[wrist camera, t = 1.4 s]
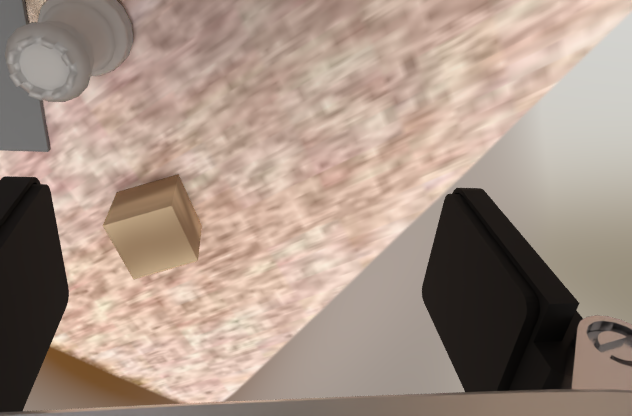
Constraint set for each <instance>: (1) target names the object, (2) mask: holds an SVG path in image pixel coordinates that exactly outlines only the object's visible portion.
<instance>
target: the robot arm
mask: <svg viewBox="0 0 632 416" xmlns="http://www.w3.org/2000/svg"><path fill="white" fill-rule="evenodd" d="M68 297H69V290H68V283H67V278H66V272H65V267H64V262H63V256H62V251H61V245H60V240H59V235H58V229H57V224H56V218H55V213H54V208H53V202H52V197H51V192H50V188H49V186H48V185H45V184H40V182H39V180H38V179H37V178H36V177H3V178H2V179H1V180H0V416H632V324H630V323H627V322H625V321H623V320H620V319H616V318H613V317H609V316H600V315H595V316H589V317H586V318H584V319H583V318H582V317H581V316H580V314H579V313H578V312H577V311H576V309H577V307H578V305H579V303H578V301H577V300H576V299H575V298H574V296H573V295H572V294H571V293H570V292H569V290H568V289H567V288H566V287H565V286H564V285H563V283H562V282H561V281H560V280H559V279H558V278H557V276H556V275H555V274H554V273H553V272H552V270H551V269H550V268H549V267H548V266H547V264H546V263H545V262H544V261H543V260H542V259H541V257H540V256H539V255H538V254H537V253H536V251H535V250H534V249H533V248H532V247H531V246H530V244H529V243H528V242H527V241H526V240H525V238H524V237H523V236H522V235H521V234H520V232H519V231H518V230H517V229H516V228H515V227H514V226H513V224H512V223H511V222H510V221H509V219H508V218H507V217H506V216H505V215H504V214H503V212H502V211H501V210H500V209H499V208H498V206H497V205H496V204H495V203H494V202H493V201H492V199H491V198H490V197H489V196H488V195H487V193H486V192H485V191H484V190H483V189H478V188H456V189H455V190H454V192H453V193H452V194H448V195H447V196H446V197H445V200H444V203H443V208H442V211H441V215H440V220H439V223H438V227H437V231H436V235H435V239H434V243H433V247H432V250H431V254H430V258H429V262H428V266H427V270H426V274H425V278H424V282H423V286H422V297H423V301H424V303H425V306H426V308H427V310H428V312H429V314H430V316H431V319H432V321H433V323H434V325H435V327H436V329H437V332H438V334H439V336H440V338H441V340H442V342H443V345H444V347H445V349H446V351H447V353H448V355H449V358H450V360H451V362H452V364H453V366H454V368H455V371H456V373H457V375H458V377H459V379H460V381H461V384H462V386H463V388H464V390H465V392H461V393H460V392H459V393H431V394H405V395H376V396H352V397H326V398H302V399H278V400H256V401H232V402H208V403H187V404H167V405H146V406H125V407H103V408H83V409H61V410H40V411H23V408H24V406H25V404H26V401H27V399H28V396H29V394H30V392H31V389H32V387H33V385H34V382H35V380H36V377H37V375H38V373H39V370H40V368H41V366H42V363H43V361H44V359H45V356H46V354H47V351H48V349H49V347H50V344H51V342H52V340H53V337H54V335H55V332H56V330H57V328H58V325H59V323H60V321H61V318H62V316H63V314H64V311H65V309H66V306H67V303H68Z"/></svg>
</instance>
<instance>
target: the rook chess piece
mask: <svg viewBox="0 0 632 416" xmlns="http://www.w3.org/2000/svg"><path fill="white" fill-rule="evenodd" d="M132 43H133V32H132V24H131V21H130V19H129V17H128V15H127V14H126V12H125V10H124V8H123V6H122V5H121V4H120V3H119V2H118V1H117V0H47V1H46V2H45V3H44V4H43V5H42V7H41V9H40V14H39V18H38V22H31V23H29V24H26V25H24V26H21V27H19V28H17V29H16V30H15V32H14V33H13V34H12V35H11V36H10V37H9V39H8V40H7V45H6V50H5V58H6V63H7V66H8V71H9V72H10V74H11V75H9V77H10V78H11V80H12V81H13V82H14V84H15V85H16V87H18V86H20V87H22V88H23V89H24V90H25V91H27V92H28V93H29V95H28V96H30V97H33V98H35V99H38V100H42V99H43V100H45V101H48V102H66V101H68V100H71V99H73V98H76V97H78V96H79V95H80V94H81V93H82V92H83V91H84V90H85V89H86V88H87V86H88V84H89V80H90V76H101V75H103V74H106V73H108V72H111V71H113V70H115V69H116V67H119V65H120V64H121V63H122V62H123V61H124V60H125V59H126V58H127V57H128V56H129V53H130V50H131V47H132Z"/></svg>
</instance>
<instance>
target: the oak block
mask: <svg viewBox="0 0 632 416" xmlns="http://www.w3.org/2000/svg"><path fill="white" fill-rule="evenodd" d="M103 227H104V229H105V231H106V232H107V234H108V236H109V237H110V239H111V241H112V243H113V244H114V246H115V248H116V250H117V251H118V253H119V255H120V257H121V258H122V260H123V262H124V264H125V265H126V267H127V269H128V271H129V272H130V274H131V276H132V277H133V279H137V278H141V277H144V276H147V275H151V274H154V273H158V272H161V271H165V270H168V269H172V268H175V267H179V266H182V265H186V264H189V263H193V262H196V261H198V255H199V246H200V237H201V228H202V225H201V223H200V221H199V219H198V217H197V214H196V212H195V210H194V208H193V206H192V203H191V201H190V199H189V197H188V194H187V192H186V190H185V188H184V186H183V183H182V181H181V179H180V177H179V175H175V176H171V177H168V178H164V179H161V180H157V181H154V182H151V183H147V184H144V185H140V186H137V187H133V188H130V189H127V190H123V191H120V192H117V193H116V196H115V198H114V200H113V203H112V205H111V208H110V210H109V212H108V215H107V217H106V219H105V222H104V224H103Z"/></svg>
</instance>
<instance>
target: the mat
mask: <svg viewBox="0 0 632 416" xmlns="http://www.w3.org/2000/svg"><path fill="white" fill-rule="evenodd" d="M26 24H29V21H28V15H27V10H26V4H25V0H0V150H8V151H38V152H48V151H49V150H50V144H49V138H48V132H47V126H46V121H45V115H44V109H43V103H42V100H38V99H35V98H33V97H30V96H28V95H29V93H28V92H27V91H25V90H24V89H23V88H22V87H20V86H18V87H16V85H15V84H14V82H13V81H12V80H11V78H10V77H9V75H11V74H10V72H9V71H8V66H7V63H6V58H5V50H6V45H7V40H8V39H9V37H10V36H11V35H12V34H13V33H14V32H15V30H16V29H17V28H19V27H21V26H24V25H26Z"/></svg>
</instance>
